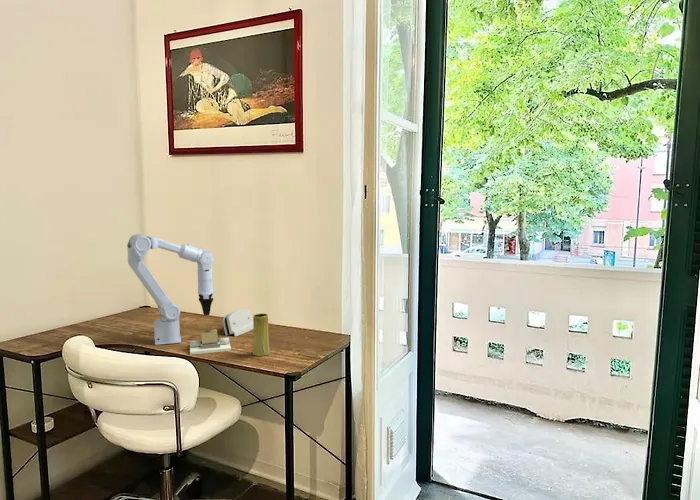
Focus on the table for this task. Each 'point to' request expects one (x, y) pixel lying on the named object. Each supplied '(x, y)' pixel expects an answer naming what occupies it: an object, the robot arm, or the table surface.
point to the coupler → (209, 337)
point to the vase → (260, 335)
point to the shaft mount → (209, 346)
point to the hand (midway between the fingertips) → (206, 313)
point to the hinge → (238, 322)
